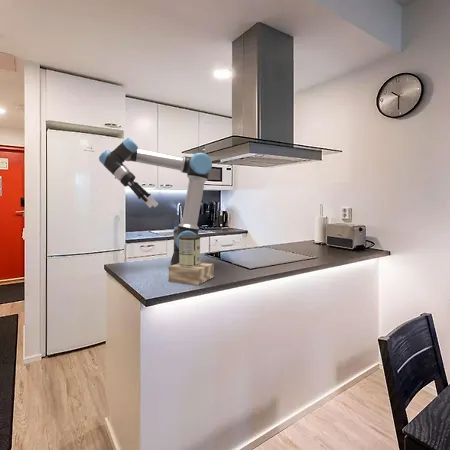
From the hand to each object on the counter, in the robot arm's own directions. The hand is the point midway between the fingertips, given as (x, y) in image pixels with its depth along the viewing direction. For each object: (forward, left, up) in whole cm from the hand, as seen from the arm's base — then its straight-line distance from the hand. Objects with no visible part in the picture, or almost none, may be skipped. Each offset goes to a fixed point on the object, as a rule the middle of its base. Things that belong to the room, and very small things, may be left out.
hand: (154, 205), depth 160 cm
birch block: (+4, +25, -35) cm, 43 cm away
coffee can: (+4, +24, -28) cm, 37 cm away
